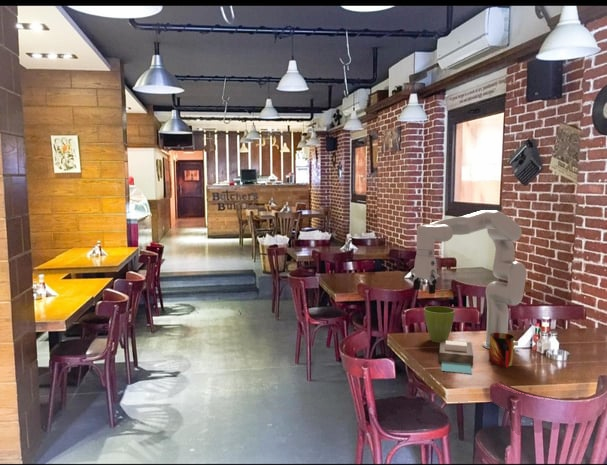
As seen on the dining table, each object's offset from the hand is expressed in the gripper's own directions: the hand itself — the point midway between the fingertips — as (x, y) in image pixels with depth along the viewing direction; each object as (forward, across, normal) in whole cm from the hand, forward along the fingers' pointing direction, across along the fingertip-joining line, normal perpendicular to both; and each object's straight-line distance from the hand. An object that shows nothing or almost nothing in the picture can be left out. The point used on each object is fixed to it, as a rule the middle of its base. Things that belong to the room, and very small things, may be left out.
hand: (424, 291), depth 220 cm
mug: (+30, -23, -26) cm, 46 cm away
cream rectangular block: (+26, -6, -14) cm, 30 cm away
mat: (+30, -16, -4) cm, 34 cm away
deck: (+30, -5, -15) cm, 34 cm away
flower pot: (+30, +16, -25) cm, 43 cm away
